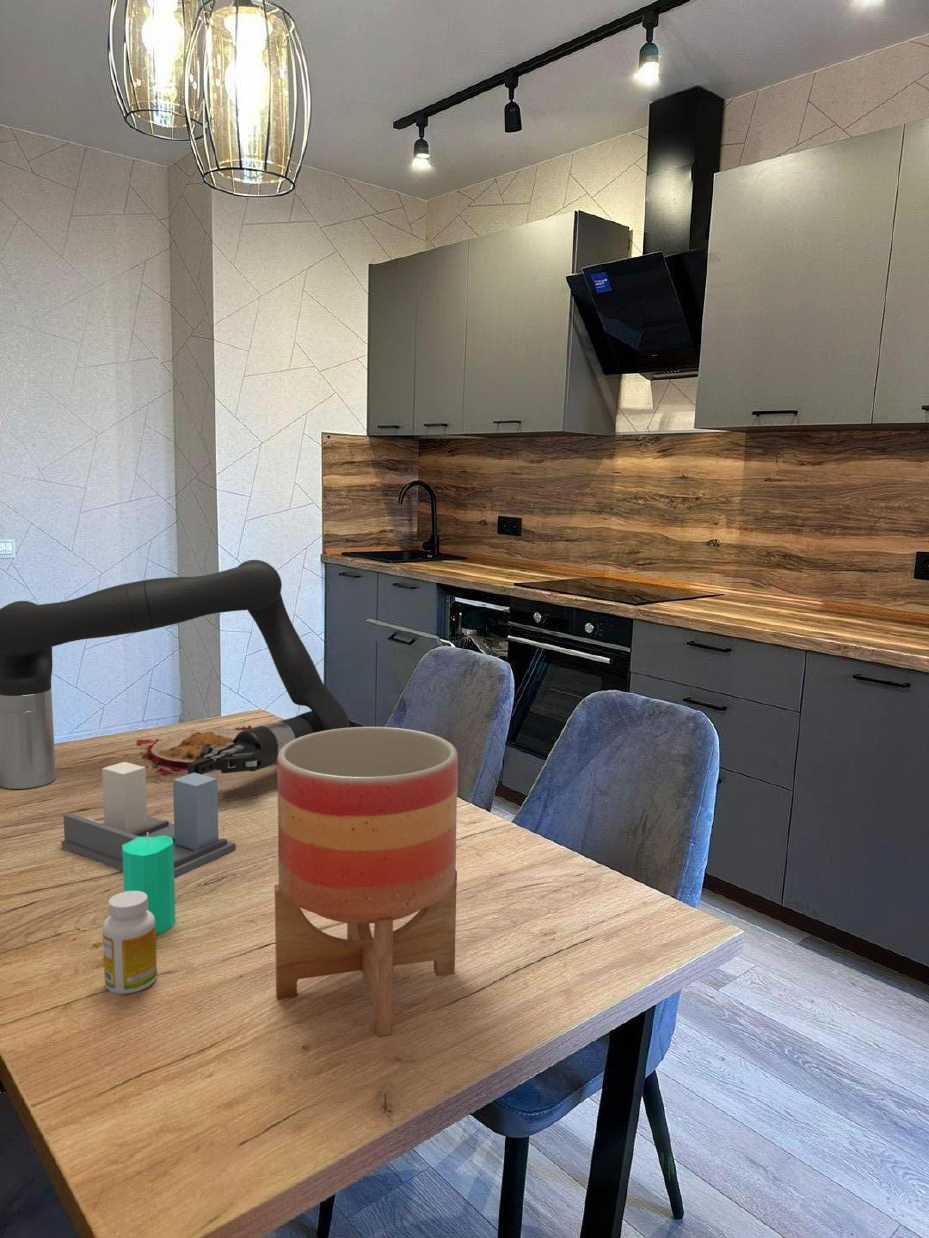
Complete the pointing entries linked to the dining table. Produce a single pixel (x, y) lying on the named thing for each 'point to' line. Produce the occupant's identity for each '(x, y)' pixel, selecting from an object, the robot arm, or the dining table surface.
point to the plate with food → (186, 747)
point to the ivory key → (125, 797)
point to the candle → (152, 876)
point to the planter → (366, 856)
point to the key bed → (108, 841)
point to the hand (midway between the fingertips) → (191, 770)
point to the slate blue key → (195, 811)
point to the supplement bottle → (129, 944)
